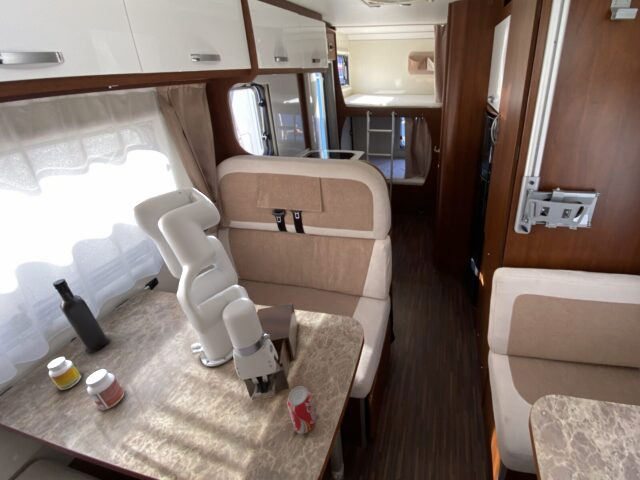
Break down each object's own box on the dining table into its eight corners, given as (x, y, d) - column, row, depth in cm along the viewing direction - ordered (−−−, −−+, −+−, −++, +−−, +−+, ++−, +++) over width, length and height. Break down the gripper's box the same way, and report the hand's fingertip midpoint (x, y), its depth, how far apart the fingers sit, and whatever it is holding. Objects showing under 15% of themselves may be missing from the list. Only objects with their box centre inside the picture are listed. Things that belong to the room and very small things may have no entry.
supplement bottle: (84, 378, 101) (71, 358, 97) (63, 393, 96) (48, 372, 93) (76, 372, 103) (63, 352, 99) (56, 386, 99) (41, 366, 95)
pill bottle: (127, 386, 97) (112, 363, 93) (121, 404, 92) (106, 380, 88) (103, 395, 95) (87, 372, 90) (95, 414, 90) (78, 390, 85)
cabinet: (294, 359, 103) (288, 337, 99) (255, 367, 101) (248, 344, 97) (297, 323, 117) (292, 303, 113) (263, 330, 115) (257, 309, 111)
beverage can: (310, 437, 81) (303, 409, 76) (289, 432, 82) (281, 405, 78) (319, 412, 87) (313, 385, 82) (300, 409, 88) (292, 381, 83)
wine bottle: (90, 354, 110) (49, 289, 98) (85, 347, 112) (44, 284, 100) (109, 342, 114) (72, 279, 102) (104, 336, 117) (67, 274, 105)
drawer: (287, 405, 88) (281, 385, 85) (246, 414, 87) (239, 394, 83) (292, 348, 106) (288, 330, 102) (259, 355, 104) (253, 337, 100)
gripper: (280, 325, 84) (293, 370, 91) (224, 336, 83) (241, 381, 90) (276, 347, 78) (290, 394, 85) (215, 360, 76) (234, 407, 83)
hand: (265, 387), depth 87 cm, fingers closed
